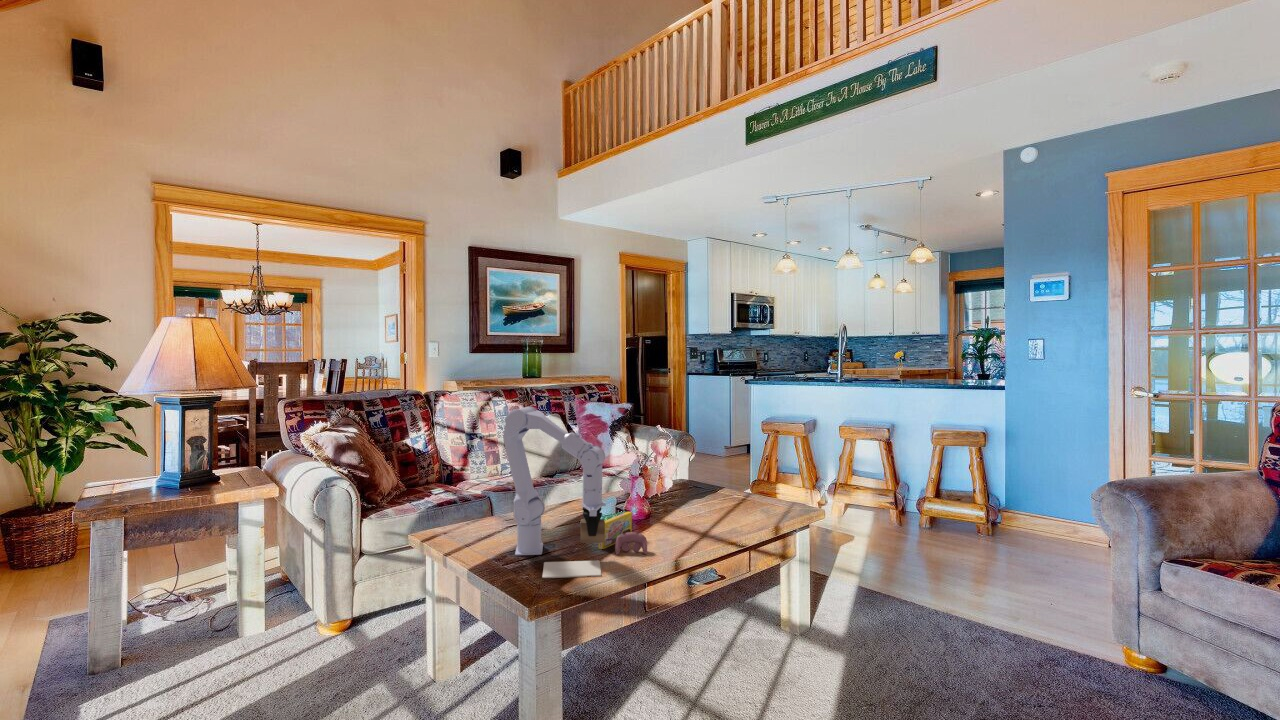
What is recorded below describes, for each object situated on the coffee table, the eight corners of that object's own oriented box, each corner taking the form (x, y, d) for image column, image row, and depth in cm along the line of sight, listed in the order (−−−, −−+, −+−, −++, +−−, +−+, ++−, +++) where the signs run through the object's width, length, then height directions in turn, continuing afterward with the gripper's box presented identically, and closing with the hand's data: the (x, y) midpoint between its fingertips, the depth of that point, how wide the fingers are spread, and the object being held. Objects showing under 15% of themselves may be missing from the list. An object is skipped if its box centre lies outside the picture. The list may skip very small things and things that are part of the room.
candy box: (603, 550, 189) (603, 523, 189) (597, 549, 191) (598, 522, 190) (632, 536, 203) (632, 511, 203) (627, 535, 204) (627, 510, 204)
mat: (544, 563, 177) (544, 562, 177) (599, 561, 179) (599, 560, 179) (542, 578, 166) (542, 576, 166) (601, 576, 168) (601, 574, 168)
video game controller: (647, 556, 189) (646, 533, 191) (647, 554, 184) (647, 530, 187) (614, 556, 188) (615, 533, 191) (614, 554, 184) (615, 530, 187)
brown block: (580, 539, 183) (580, 519, 183) (603, 538, 184) (604, 519, 184) (580, 543, 180) (581, 522, 180) (604, 542, 180) (604, 522, 180)
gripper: (607, 494, 175) (606, 541, 175) (604, 482, 189) (604, 525, 189) (582, 494, 174) (582, 541, 174) (581, 482, 188) (581, 526, 189)
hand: (592, 533), depth 182 cm, fingers closed on brown block, 3 cm apart
